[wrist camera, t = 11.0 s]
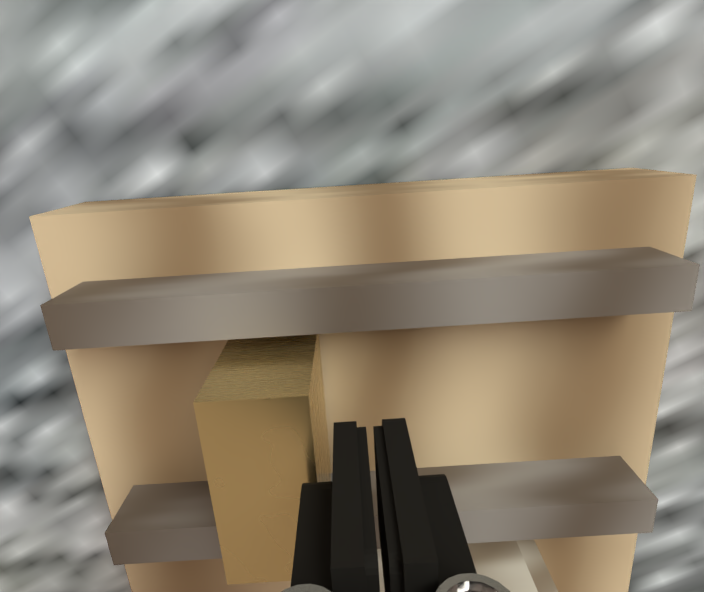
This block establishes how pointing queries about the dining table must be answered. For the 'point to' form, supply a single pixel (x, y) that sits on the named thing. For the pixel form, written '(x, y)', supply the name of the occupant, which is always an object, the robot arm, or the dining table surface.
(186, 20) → the dining table surface
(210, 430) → the brass lever
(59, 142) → the dining table surface
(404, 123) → the dining table surface
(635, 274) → the control panel
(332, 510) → the robot arm
